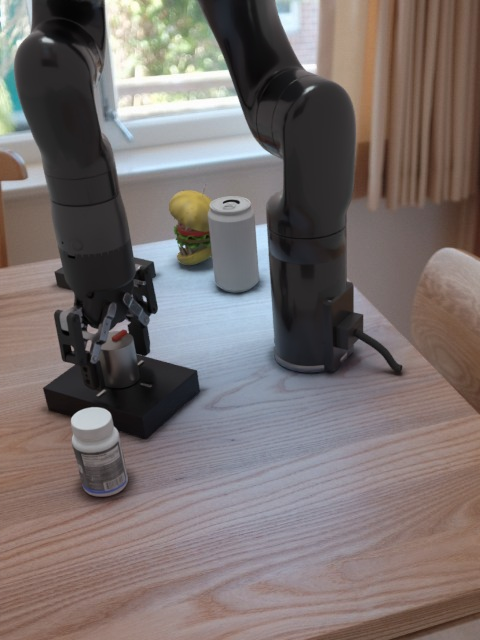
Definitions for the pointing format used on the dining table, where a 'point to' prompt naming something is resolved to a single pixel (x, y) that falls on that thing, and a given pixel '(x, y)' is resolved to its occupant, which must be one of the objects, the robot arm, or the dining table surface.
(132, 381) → the knob
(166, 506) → the dining table surface
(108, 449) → the pill bottle
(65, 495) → the dining table surface
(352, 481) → the dining table surface
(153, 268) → the button block
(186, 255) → the hamburger
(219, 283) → the beverage can
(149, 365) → the panel
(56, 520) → the dining table surface
